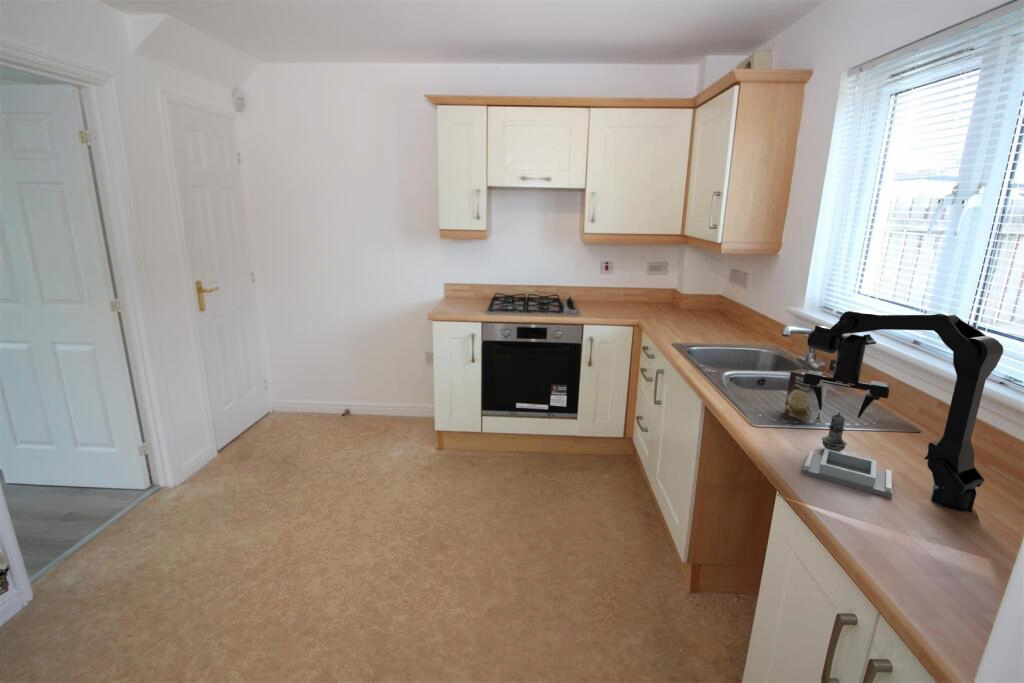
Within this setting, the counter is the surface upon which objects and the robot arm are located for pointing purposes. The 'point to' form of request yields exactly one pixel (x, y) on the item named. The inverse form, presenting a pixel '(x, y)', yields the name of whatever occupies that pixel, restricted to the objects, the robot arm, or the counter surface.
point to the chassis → (849, 472)
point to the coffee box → (803, 399)
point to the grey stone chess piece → (835, 434)
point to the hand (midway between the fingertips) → (839, 413)
